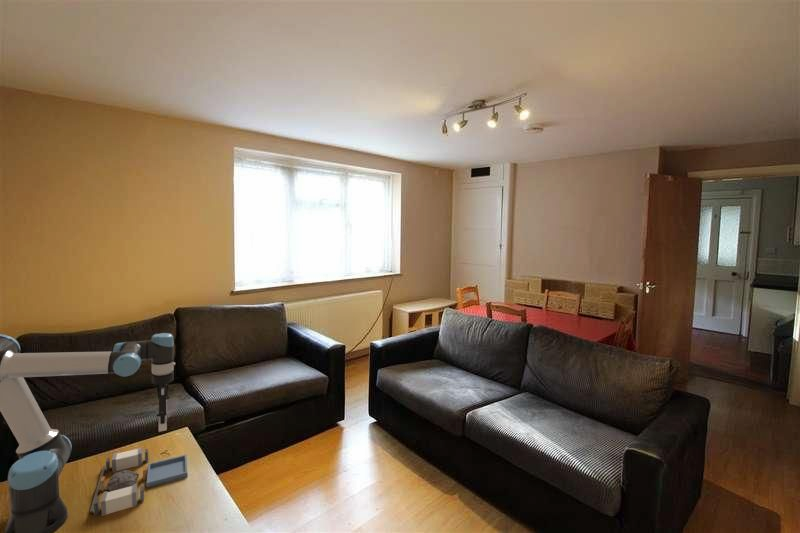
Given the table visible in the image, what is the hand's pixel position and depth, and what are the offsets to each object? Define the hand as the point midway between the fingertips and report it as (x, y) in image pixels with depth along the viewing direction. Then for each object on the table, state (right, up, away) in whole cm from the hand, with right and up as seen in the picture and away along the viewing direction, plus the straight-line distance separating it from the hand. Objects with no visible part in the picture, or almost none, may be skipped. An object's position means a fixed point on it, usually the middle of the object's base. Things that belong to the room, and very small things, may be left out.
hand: (163, 422), depth 153 cm
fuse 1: (-19, -21, +6) cm, 28 cm away
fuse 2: (-5, -23, -17) cm, 29 cm away
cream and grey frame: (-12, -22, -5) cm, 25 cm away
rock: (-12, -22, -6) cm, 26 cm away
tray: (+1, -21, +2) cm, 21 cm away
